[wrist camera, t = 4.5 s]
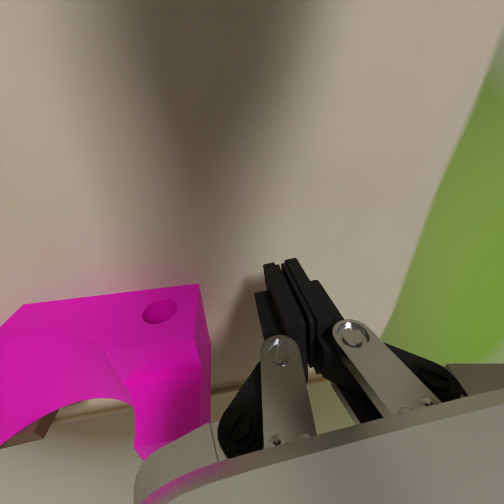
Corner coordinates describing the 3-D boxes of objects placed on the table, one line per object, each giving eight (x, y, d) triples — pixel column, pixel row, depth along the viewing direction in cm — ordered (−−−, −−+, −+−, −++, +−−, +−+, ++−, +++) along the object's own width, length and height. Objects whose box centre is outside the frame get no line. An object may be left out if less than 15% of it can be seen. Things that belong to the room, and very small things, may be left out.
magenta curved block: (198, 281, 15) (188, 405, 8) (210, 343, 18) (210, 466, 12) (-63, 312, 13) (-329, 498, 7) (2, 374, 16) (-135, 540, 10)
